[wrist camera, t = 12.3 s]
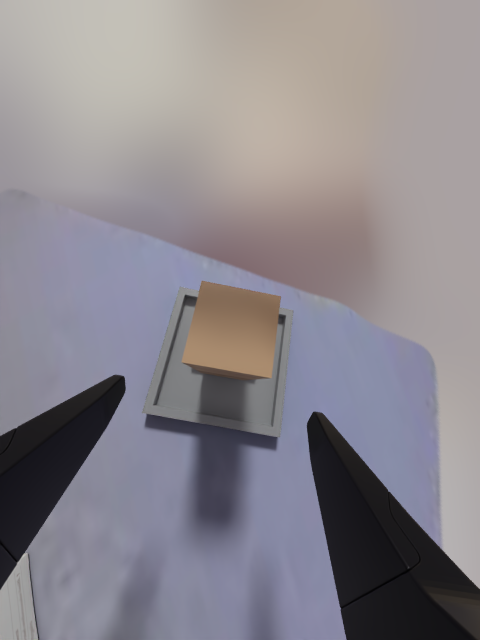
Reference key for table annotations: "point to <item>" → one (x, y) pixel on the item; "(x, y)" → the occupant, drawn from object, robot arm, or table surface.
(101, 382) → the robot arm
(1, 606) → the supplement box
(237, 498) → the table surface
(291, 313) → the box
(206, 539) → the table surface
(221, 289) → the tan slab
